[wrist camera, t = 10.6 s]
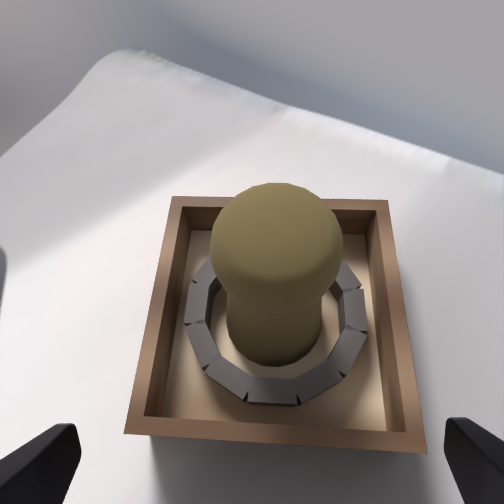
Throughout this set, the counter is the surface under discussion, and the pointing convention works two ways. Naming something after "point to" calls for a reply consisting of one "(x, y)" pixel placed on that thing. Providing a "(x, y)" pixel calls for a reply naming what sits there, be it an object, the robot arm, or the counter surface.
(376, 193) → the counter surface
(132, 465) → the counter surface
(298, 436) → the socket box
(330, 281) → the olive knobbed peg
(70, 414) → the counter surface
